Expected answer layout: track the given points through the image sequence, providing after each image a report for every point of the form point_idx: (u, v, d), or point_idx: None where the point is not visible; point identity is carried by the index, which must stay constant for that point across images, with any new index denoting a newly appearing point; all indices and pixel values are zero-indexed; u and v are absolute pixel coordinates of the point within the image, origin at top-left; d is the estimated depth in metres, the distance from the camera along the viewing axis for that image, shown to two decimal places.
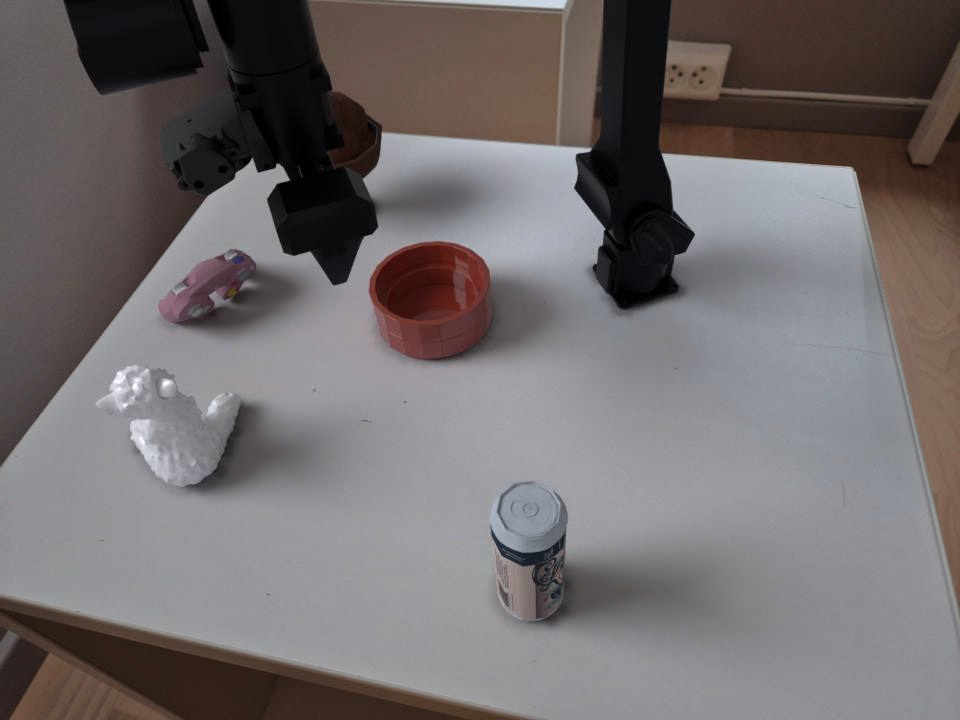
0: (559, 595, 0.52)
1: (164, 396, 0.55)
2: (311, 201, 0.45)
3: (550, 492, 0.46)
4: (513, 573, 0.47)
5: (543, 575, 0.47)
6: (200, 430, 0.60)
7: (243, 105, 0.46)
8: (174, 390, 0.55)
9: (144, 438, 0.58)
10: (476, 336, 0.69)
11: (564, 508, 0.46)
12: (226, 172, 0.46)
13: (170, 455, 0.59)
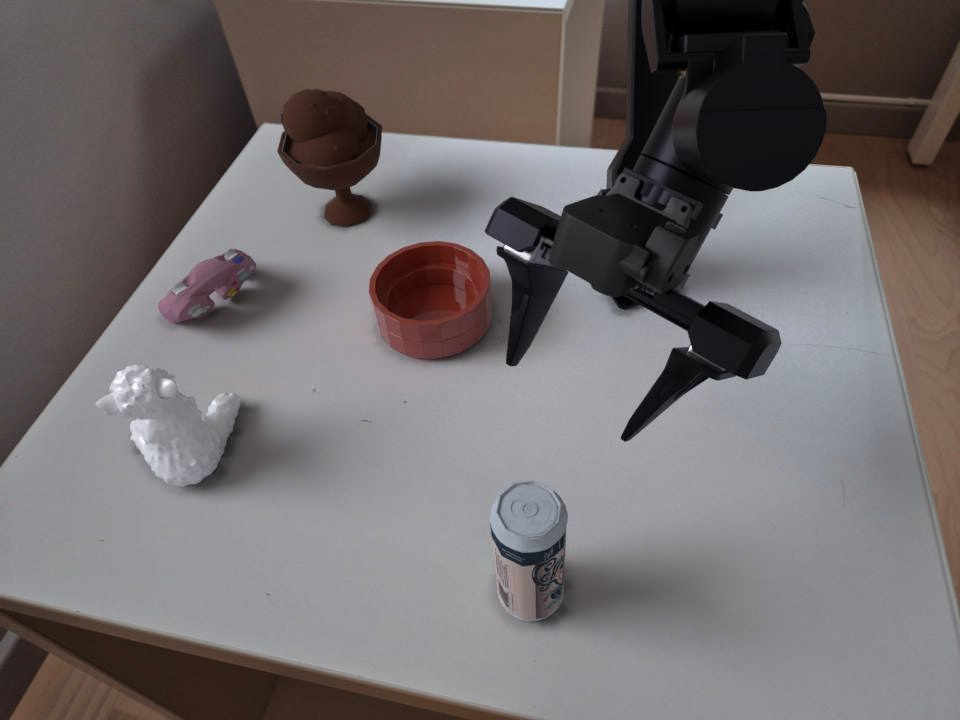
0: (559, 595, 0.52)
1: (164, 396, 0.55)
2: (760, 324, 0.42)
3: (550, 492, 0.46)
4: (513, 573, 0.47)
5: (543, 575, 0.47)
6: (200, 430, 0.60)
7: (693, 212, 0.41)
8: (174, 390, 0.55)
9: (144, 438, 0.58)
10: (476, 336, 0.69)
11: (564, 508, 0.46)
12: (683, 274, 0.39)
13: (170, 455, 0.59)
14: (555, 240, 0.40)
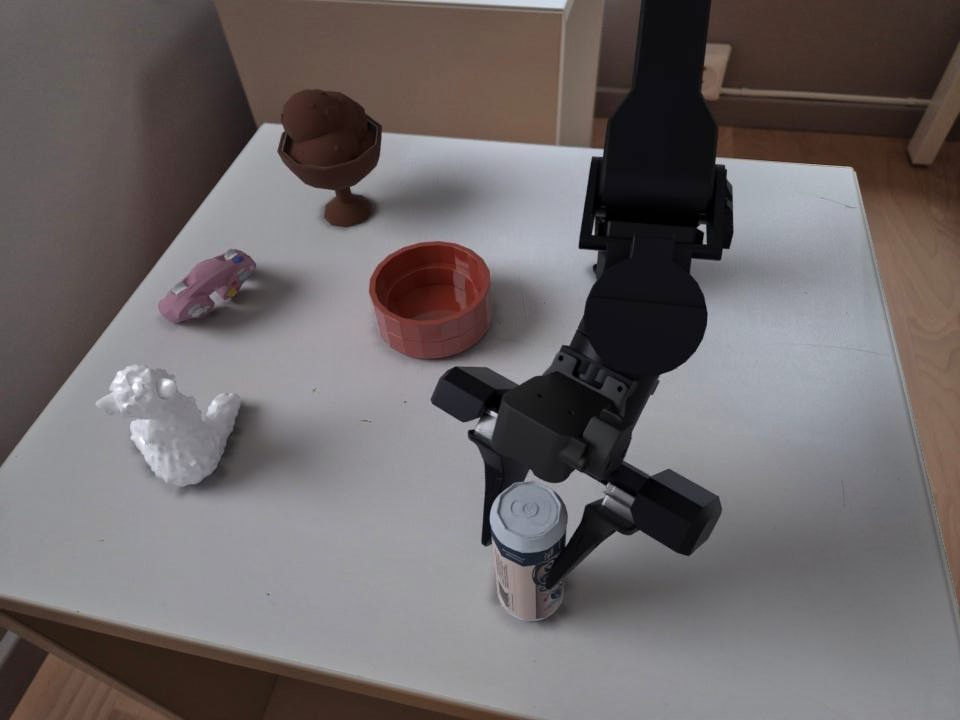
0: (559, 595, 0.52)
1: (164, 396, 0.55)
2: (699, 497, 0.43)
3: (550, 492, 0.46)
4: (513, 573, 0.47)
5: (543, 575, 0.47)
6: (200, 430, 0.60)
7: (629, 390, 0.43)
8: (174, 390, 0.55)
9: (144, 438, 0.58)
10: (476, 336, 0.69)
11: (565, 508, 0.46)
12: (621, 457, 0.40)
13: (170, 455, 0.59)
14: (496, 427, 0.41)
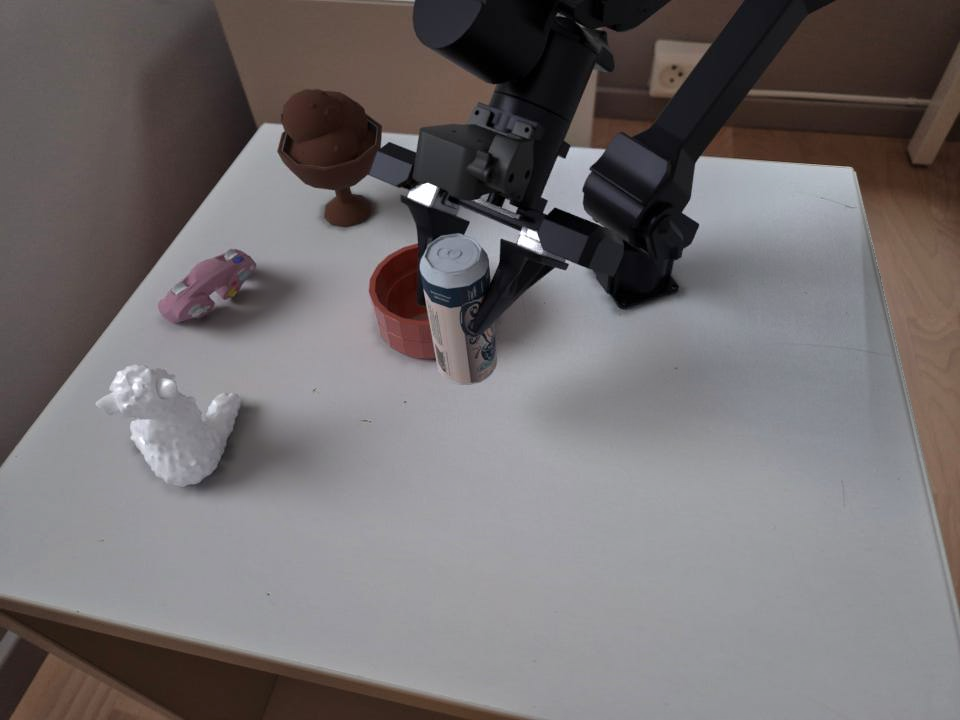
0: (491, 358, 0.57)
1: (164, 396, 0.55)
2: None
3: (473, 242, 0.52)
4: (443, 321, 0.53)
5: (470, 321, 0.53)
6: (200, 430, 0.60)
7: (535, 132, 0.48)
8: (174, 390, 0.55)
9: (144, 438, 0.58)
10: None
11: (486, 255, 0.51)
12: (526, 179, 0.46)
13: (170, 455, 0.59)
14: (416, 157, 0.46)
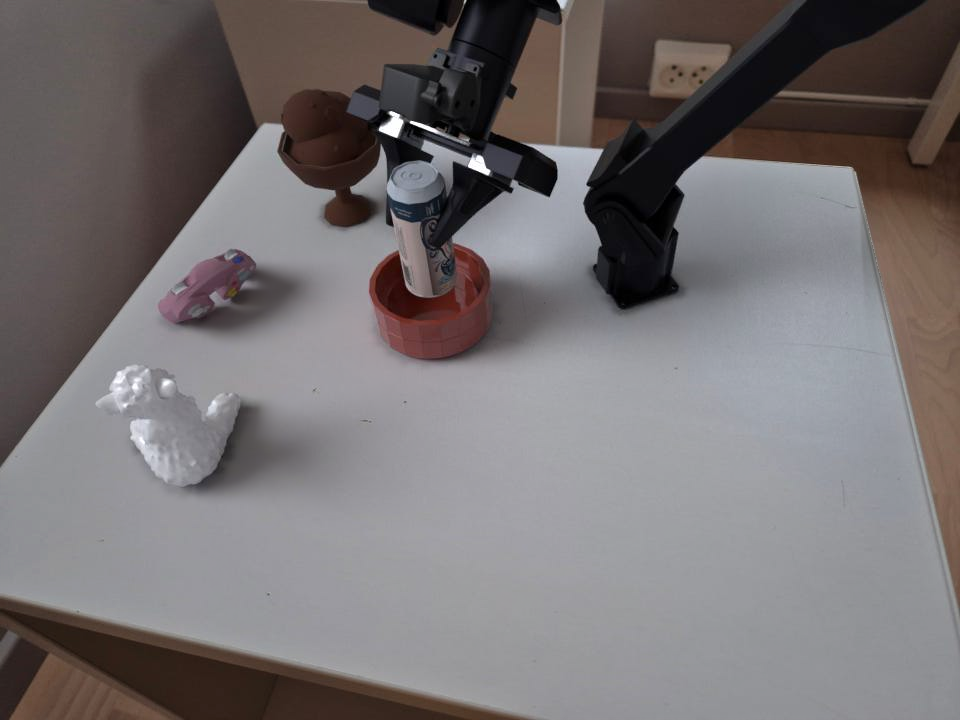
0: (450, 274, 0.67)
1: (164, 396, 0.55)
2: None
3: (432, 167, 0.61)
4: (407, 236, 0.62)
5: (429, 236, 0.62)
6: (200, 430, 0.60)
7: (482, 71, 0.57)
8: (174, 390, 0.55)
9: (144, 438, 0.58)
10: (476, 336, 0.69)
11: (442, 178, 0.61)
12: (471, 107, 0.55)
13: (170, 455, 0.59)
14: (381, 89, 0.56)
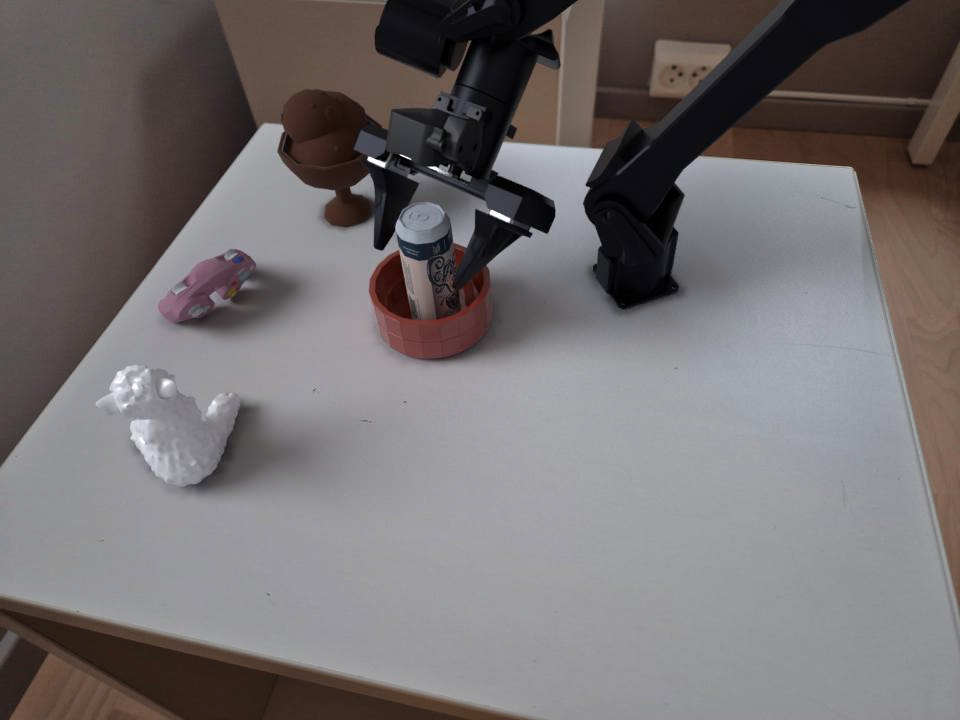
0: (454, 307, 0.70)
1: (164, 396, 0.55)
2: None
3: (438, 208, 0.64)
4: (414, 272, 0.66)
5: (436, 273, 0.65)
6: (200, 430, 0.60)
7: (484, 115, 0.60)
8: (174, 390, 0.55)
9: (144, 438, 0.58)
10: (476, 336, 0.69)
11: (449, 219, 0.64)
12: (474, 151, 0.58)
13: (170, 455, 0.59)
14: (388, 133, 0.59)
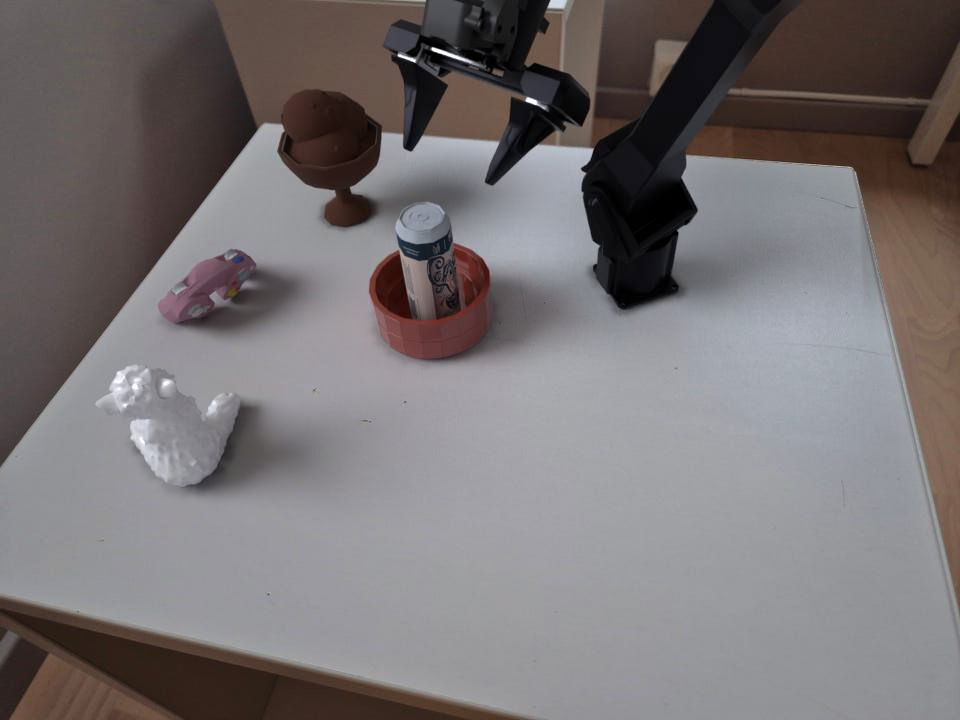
0: (454, 307, 0.70)
1: (164, 396, 0.55)
2: None
3: (438, 208, 0.64)
4: (414, 272, 0.66)
5: (436, 273, 0.65)
6: (200, 430, 0.60)
7: (520, 2, 0.60)
8: (174, 390, 0.55)
9: (144, 438, 0.58)
10: (476, 336, 0.69)
11: (449, 219, 0.64)
12: (511, 34, 0.58)
13: (170, 455, 0.59)
14: (423, 16, 0.58)
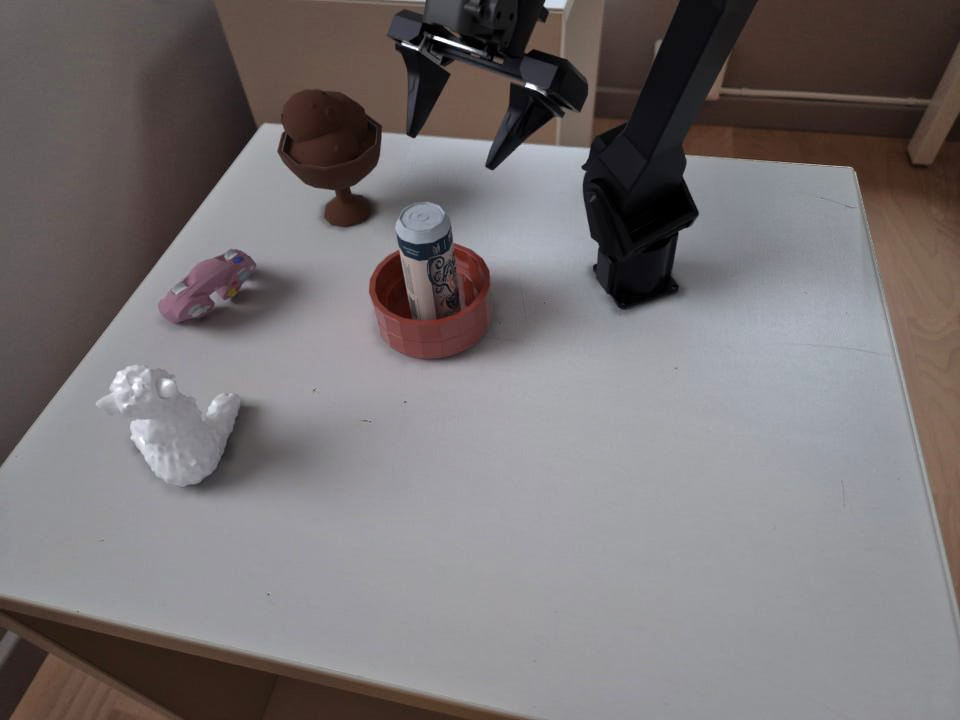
0: (454, 307, 0.70)
1: (164, 396, 0.55)
2: None
3: (438, 208, 0.64)
4: (414, 272, 0.66)
5: (436, 273, 0.65)
6: (200, 430, 0.60)
7: None
8: (174, 390, 0.55)
9: (144, 438, 0.58)
10: (476, 336, 0.69)
11: (449, 219, 0.64)
12: (510, 20, 0.59)
13: (170, 455, 0.59)
14: (425, 4, 0.60)
